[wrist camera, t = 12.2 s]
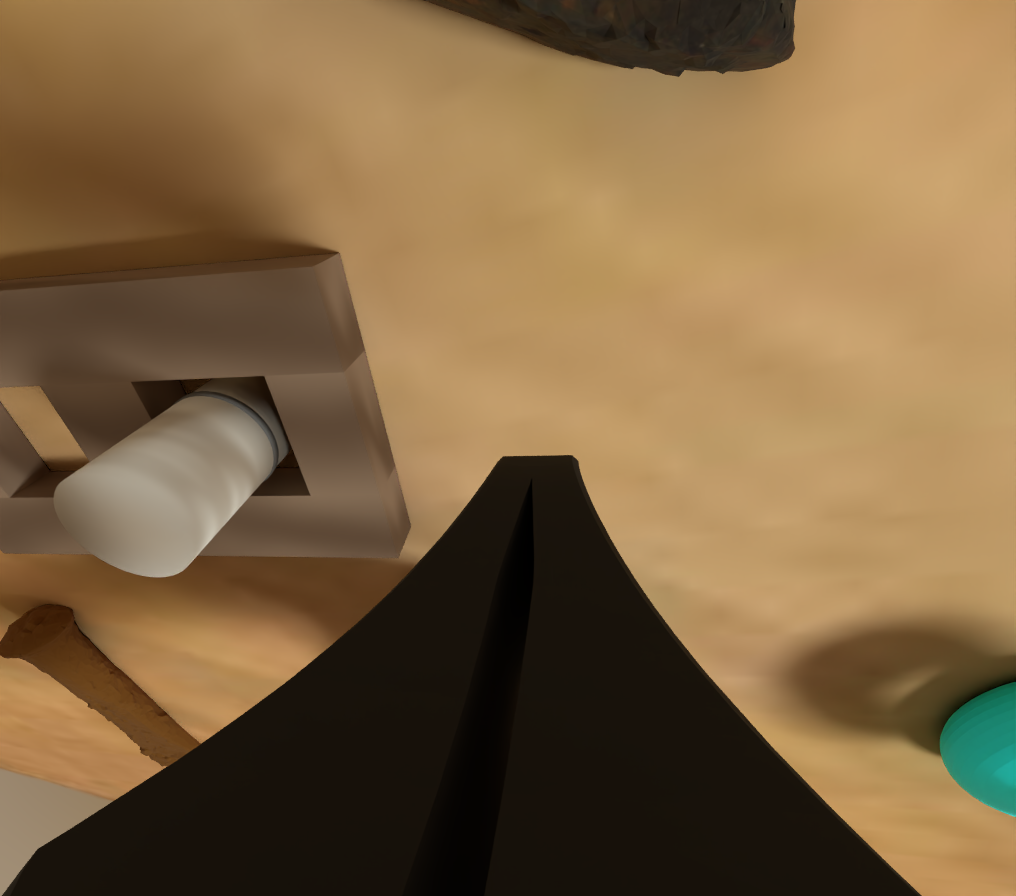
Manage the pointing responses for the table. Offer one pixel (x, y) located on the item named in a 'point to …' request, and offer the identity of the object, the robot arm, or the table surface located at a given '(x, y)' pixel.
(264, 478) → the peg
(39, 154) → the table surface
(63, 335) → the board
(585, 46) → the hand tool
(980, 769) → the donuts
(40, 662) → the primitive tool
